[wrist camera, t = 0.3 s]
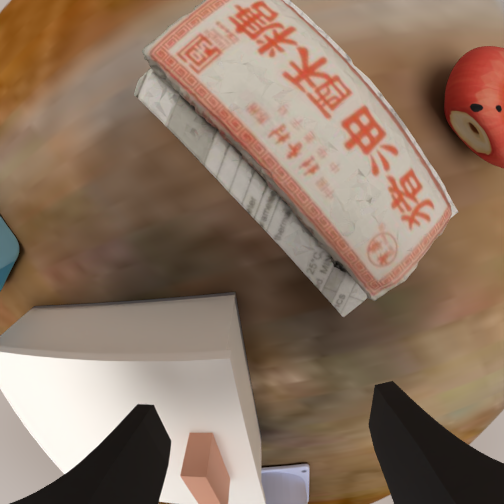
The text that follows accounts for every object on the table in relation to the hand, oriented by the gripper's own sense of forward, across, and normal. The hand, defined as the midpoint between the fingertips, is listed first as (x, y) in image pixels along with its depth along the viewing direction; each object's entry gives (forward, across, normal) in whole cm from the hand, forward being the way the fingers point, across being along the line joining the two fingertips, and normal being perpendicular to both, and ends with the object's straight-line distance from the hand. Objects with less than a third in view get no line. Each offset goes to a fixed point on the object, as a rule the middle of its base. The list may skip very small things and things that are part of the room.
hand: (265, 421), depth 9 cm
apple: (+10, -14, -10) cm, 20 cm away
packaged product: (+11, -4, -8) cm, 14 cm away
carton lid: (+4, +10, +7) cm, 12 cm away
